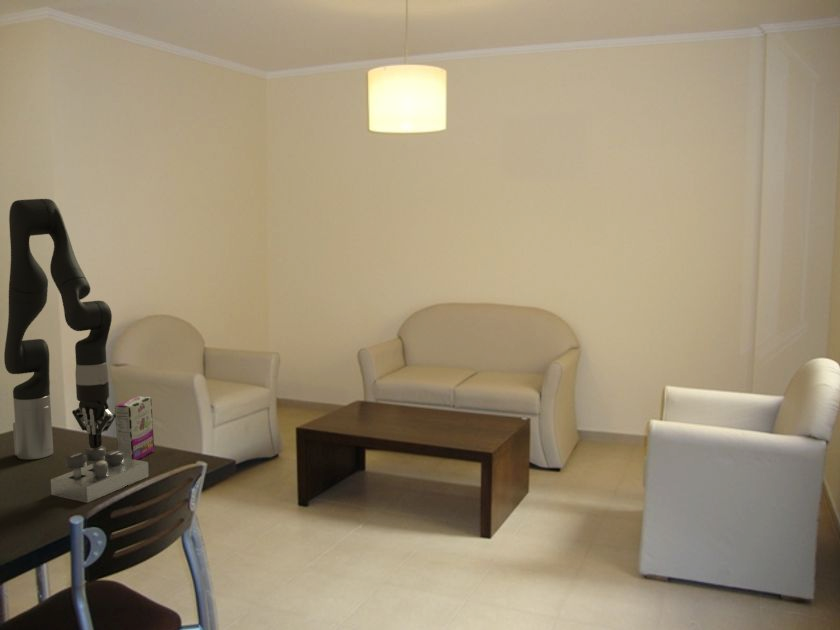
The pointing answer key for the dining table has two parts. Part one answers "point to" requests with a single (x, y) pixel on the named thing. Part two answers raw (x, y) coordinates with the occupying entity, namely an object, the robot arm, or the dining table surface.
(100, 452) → the knob
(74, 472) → the knob
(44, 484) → the dining table surface
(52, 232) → the robot arm
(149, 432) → the candy bar box
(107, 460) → the knob
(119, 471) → the mount
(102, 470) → the pot post
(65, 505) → the dining table surface
